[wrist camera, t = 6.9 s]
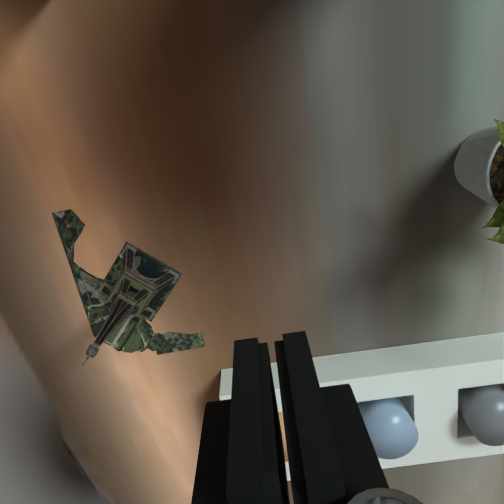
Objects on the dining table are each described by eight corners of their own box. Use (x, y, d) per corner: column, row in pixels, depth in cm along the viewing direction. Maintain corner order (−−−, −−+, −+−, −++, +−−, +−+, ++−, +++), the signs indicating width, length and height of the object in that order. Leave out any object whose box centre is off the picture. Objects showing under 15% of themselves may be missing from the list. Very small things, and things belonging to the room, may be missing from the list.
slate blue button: (403, 389, 36) (418, 413, 33) (404, 429, 37) (419, 456, 34) (354, 395, 36) (364, 420, 33) (357, 435, 37) (367, 462, 34)
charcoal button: (503, 376, 36) (527, 399, 33) (501, 416, 37) (524, 442, 34) (454, 382, 36) (474, 406, 33) (453, 422, 37) (472, 449, 34)
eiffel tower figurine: (52, 209, 34) (-65, 257, 21) (168, 185, 33) (122, 220, 21) (105, 361, 38) (35, 478, 25) (209, 342, 38) (191, 451, 25)
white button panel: (517, 330, 37) (549, 353, 34) (512, 418, 40) (540, 448, 37) (221, 369, 38) (219, 396, 34) (237, 453, 41) (236, 487, 37)
